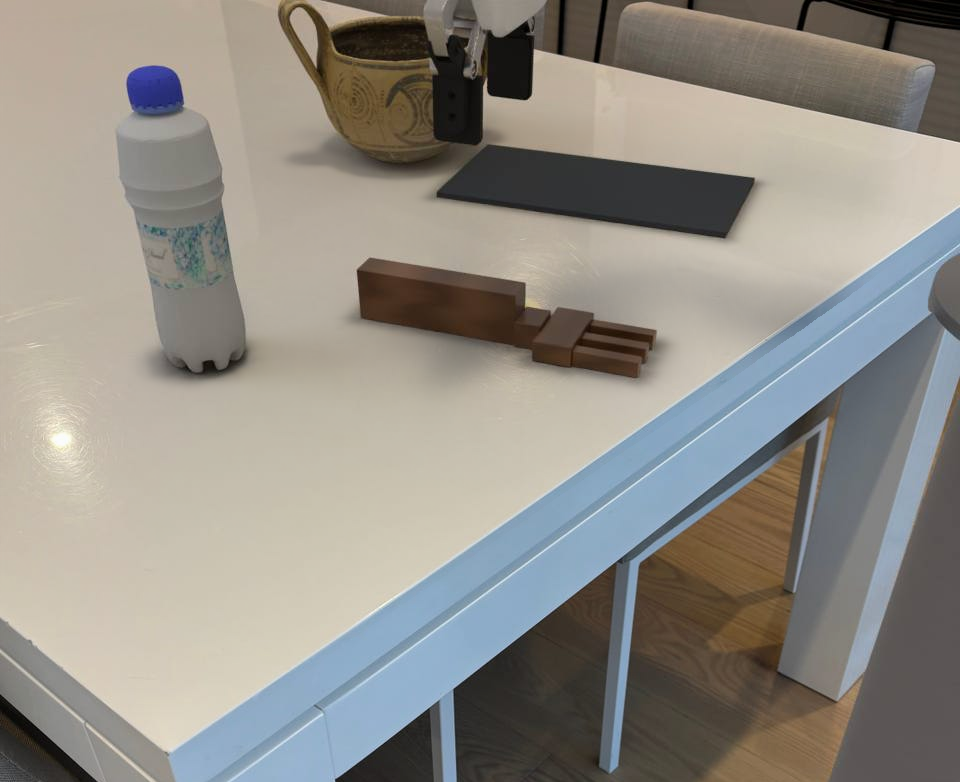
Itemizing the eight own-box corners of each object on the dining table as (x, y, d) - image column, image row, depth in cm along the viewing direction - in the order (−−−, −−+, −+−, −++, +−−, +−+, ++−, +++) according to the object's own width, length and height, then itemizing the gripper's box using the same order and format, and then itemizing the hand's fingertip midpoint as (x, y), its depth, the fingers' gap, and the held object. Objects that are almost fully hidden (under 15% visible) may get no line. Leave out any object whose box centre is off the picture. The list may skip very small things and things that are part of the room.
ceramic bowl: (315, 195, 104) (296, 21, 94) (281, 138, 116) (261, -22, 106) (531, 166, 109) (535, -2, 99) (477, 115, 121) (476, -40, 111)
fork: (350, 328, 84) (345, 279, 81) (382, 295, 88) (379, 247, 86) (635, 379, 78) (641, 328, 75) (656, 342, 82) (662, 292, 79)
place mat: (754, 182, 106) (755, 177, 105) (725, 237, 96) (726, 232, 96) (487, 148, 113) (487, 143, 113) (436, 196, 104) (436, 191, 103)
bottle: (147, 354, 81) (78, 64, 68) (226, 328, 84) (176, 45, 71) (187, 390, 77) (122, 90, 64) (269, 361, 80) (224, 69, 67)
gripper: (498, -182, 54) (492, 169, 66) (595, -215, 66) (575, 88, 77) (362, -190, 56) (380, 153, 68) (480, -220, 68) (478, 76, 79)
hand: (484, 118), depth 72 cm, fingers open, 9 cm apart
